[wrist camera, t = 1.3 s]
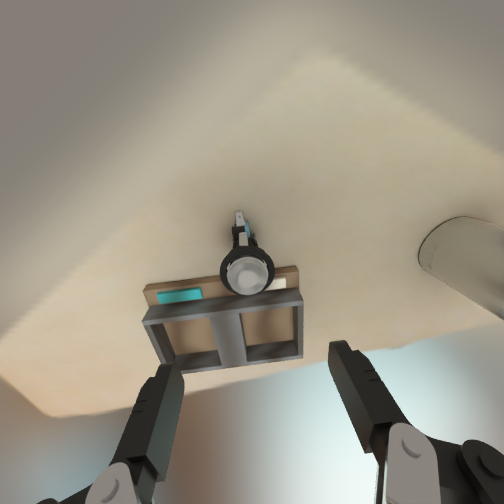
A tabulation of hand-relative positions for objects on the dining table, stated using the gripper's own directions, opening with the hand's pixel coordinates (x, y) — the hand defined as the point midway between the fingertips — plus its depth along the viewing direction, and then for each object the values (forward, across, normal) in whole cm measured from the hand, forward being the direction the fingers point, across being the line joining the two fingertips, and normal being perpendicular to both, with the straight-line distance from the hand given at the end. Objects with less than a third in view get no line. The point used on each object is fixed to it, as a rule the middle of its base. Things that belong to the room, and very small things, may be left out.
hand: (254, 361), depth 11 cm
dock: (+19, +4, +14) cm, 23 cm away
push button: (+19, 0, 0) cm, 19 cm away
